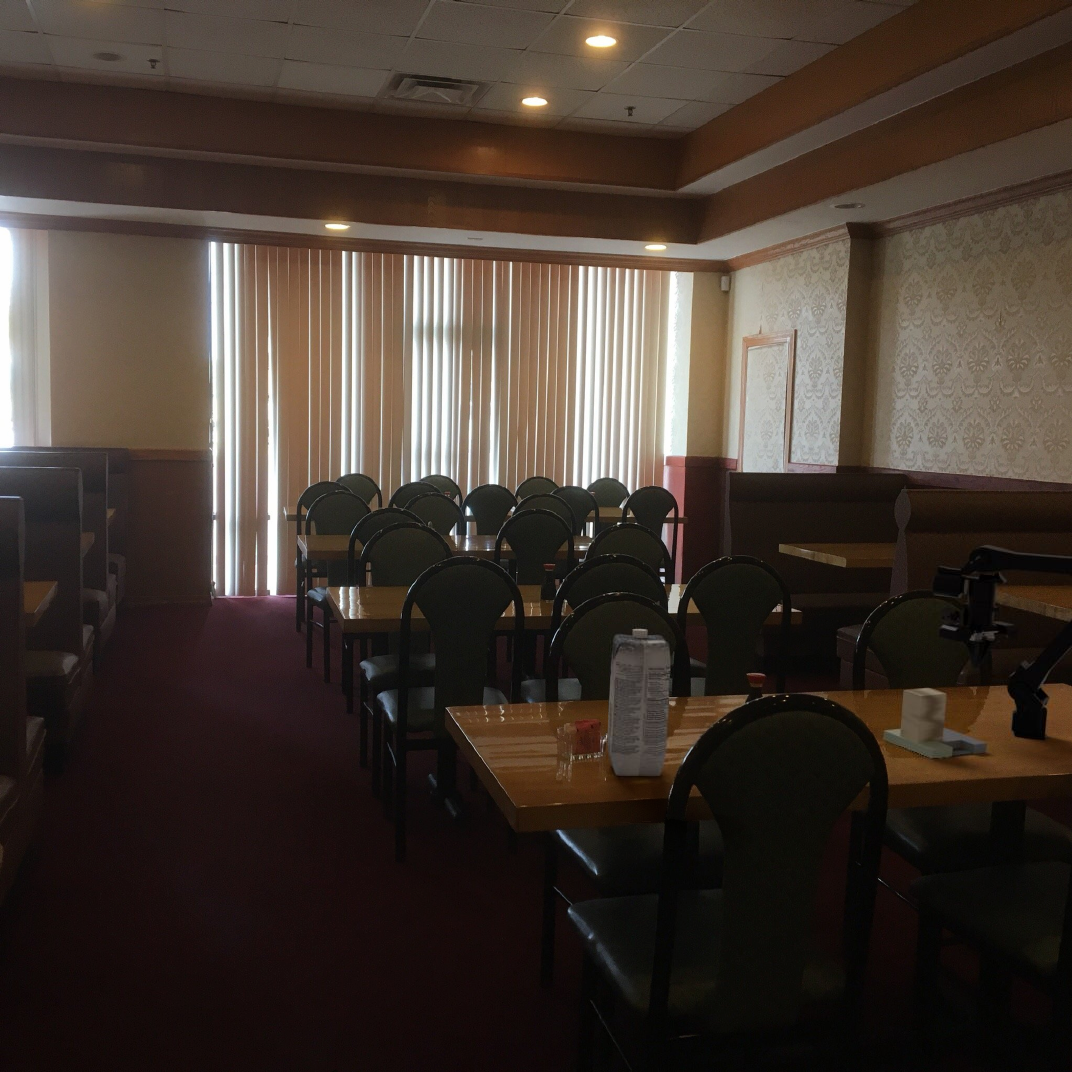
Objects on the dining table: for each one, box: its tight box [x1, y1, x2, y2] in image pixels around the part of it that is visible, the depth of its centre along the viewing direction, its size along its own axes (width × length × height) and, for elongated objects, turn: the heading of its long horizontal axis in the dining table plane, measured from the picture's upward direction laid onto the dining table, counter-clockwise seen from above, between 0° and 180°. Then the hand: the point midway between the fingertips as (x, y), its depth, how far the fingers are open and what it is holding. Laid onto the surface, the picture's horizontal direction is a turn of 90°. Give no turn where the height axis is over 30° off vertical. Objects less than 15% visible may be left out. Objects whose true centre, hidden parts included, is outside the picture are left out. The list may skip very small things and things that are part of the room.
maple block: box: [900, 687, 947, 743], centre depth 229 cm, size 7×5×10 cm
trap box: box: [882, 727, 988, 759], centre depth 231 cm, size 15×14×2 cm
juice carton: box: [607, 628, 671, 777], centre depth 206 cm, size 9×10×27 cm
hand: (975, 668), depth 248 cm, fingers closed
